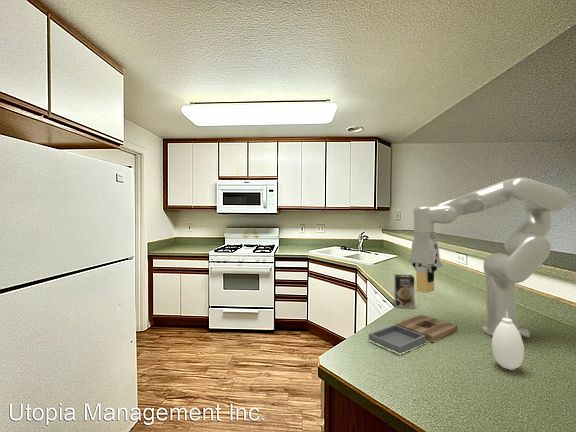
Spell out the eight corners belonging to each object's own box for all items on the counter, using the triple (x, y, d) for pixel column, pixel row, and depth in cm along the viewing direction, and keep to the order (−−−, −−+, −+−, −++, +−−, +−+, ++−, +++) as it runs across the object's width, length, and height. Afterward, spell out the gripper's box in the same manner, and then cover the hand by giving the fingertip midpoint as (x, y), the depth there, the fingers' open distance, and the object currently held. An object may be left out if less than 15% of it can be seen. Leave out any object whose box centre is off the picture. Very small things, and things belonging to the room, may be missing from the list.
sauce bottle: (486, 365, 92) (485, 308, 92) (503, 360, 95) (502, 305, 95) (513, 377, 85) (512, 316, 84) (530, 372, 87) (529, 312, 87)
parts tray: (426, 343, 108) (425, 335, 108) (400, 356, 99) (399, 347, 99) (394, 331, 119) (394, 324, 119) (368, 341, 110) (368, 334, 110)
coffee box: (395, 308, 148) (395, 276, 147) (394, 304, 154) (393, 274, 154) (415, 309, 145) (414, 277, 145) (412, 305, 152) (412, 274, 152)
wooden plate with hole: (457, 331, 118) (457, 325, 118) (432, 343, 108) (432, 336, 108) (420, 319, 131) (420, 314, 131) (395, 329, 121) (395, 323, 121)
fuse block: (434, 290, 119) (433, 266, 119) (426, 293, 116) (425, 268, 116) (425, 288, 123) (424, 265, 122) (416, 291, 119) (416, 266, 119)
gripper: (449, 236, 114) (450, 283, 114) (411, 234, 128) (412, 276, 128) (439, 238, 110) (440, 286, 110) (400, 235, 124) (401, 278, 124)
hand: (425, 280), depth 119 cm, fingers closed on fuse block, 4 cm apart
